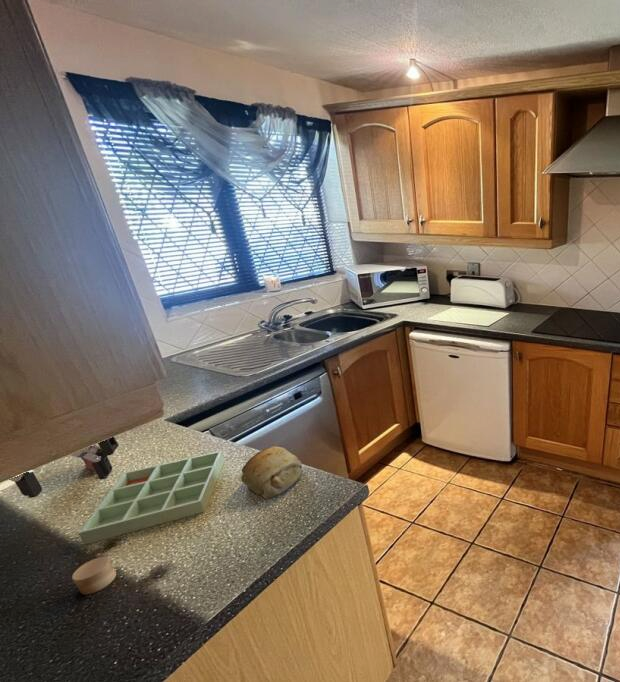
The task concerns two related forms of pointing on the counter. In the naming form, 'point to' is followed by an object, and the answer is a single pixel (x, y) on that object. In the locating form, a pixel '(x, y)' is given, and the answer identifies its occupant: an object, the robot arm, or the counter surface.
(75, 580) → the beige short cylinder
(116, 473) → the counter surface
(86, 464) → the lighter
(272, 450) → the pastry
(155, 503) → the grid
